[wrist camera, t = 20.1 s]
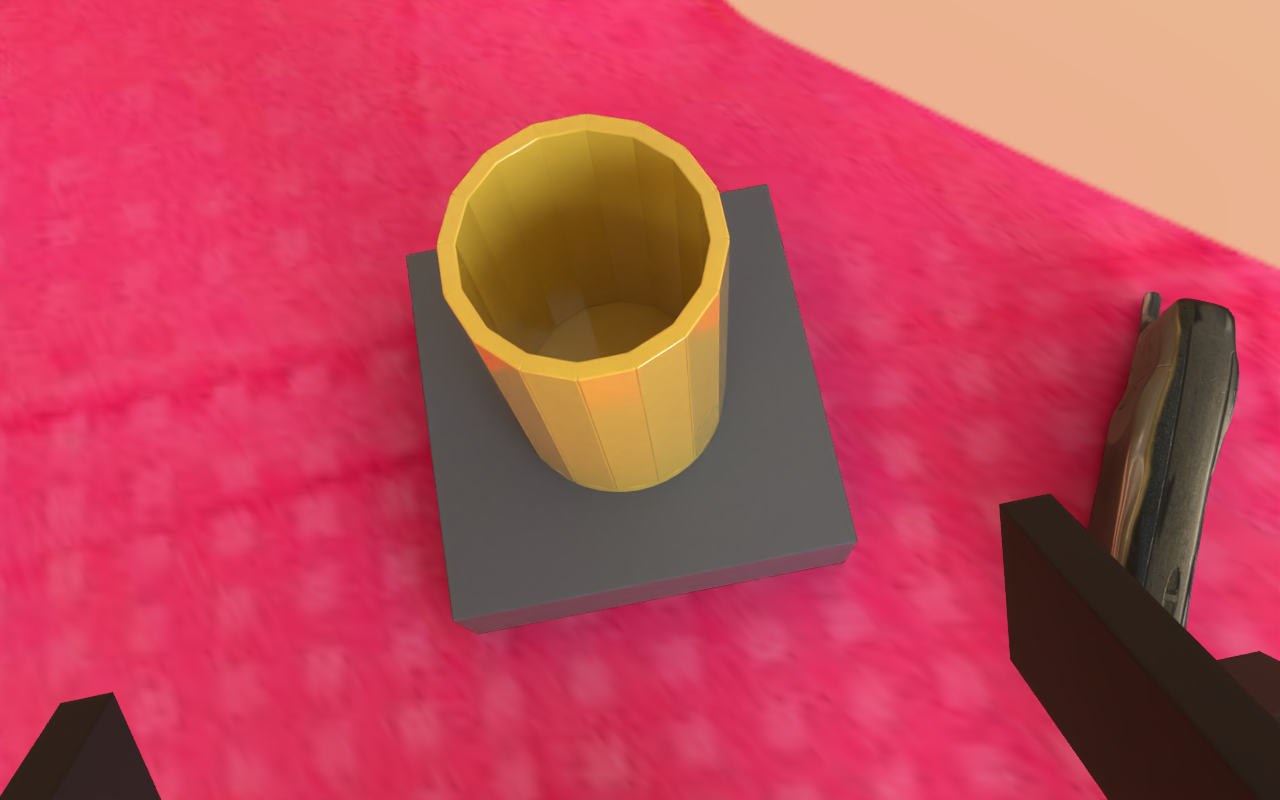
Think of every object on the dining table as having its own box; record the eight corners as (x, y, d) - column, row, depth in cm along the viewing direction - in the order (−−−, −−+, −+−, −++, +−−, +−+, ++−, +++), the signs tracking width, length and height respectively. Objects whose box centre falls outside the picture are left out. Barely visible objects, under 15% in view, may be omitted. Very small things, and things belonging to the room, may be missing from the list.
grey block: (476, 634, 41) (452, 621, 37) (431, 297, 45) (405, 254, 42) (845, 562, 41) (858, 541, 37) (763, 231, 45) (767, 182, 41)
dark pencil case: (1200, 686, 34) (1263, 257, 38) (1102, 659, 35) (1174, 238, 38) (1141, 691, 39) (1202, 309, 43) (1055, 667, 39) (1124, 292, 43)
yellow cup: (534, 510, 38) (457, 404, 27) (504, 318, 40) (421, 144, 29) (743, 469, 38) (755, 345, 27) (700, 279, 40) (695, 90, 29)
